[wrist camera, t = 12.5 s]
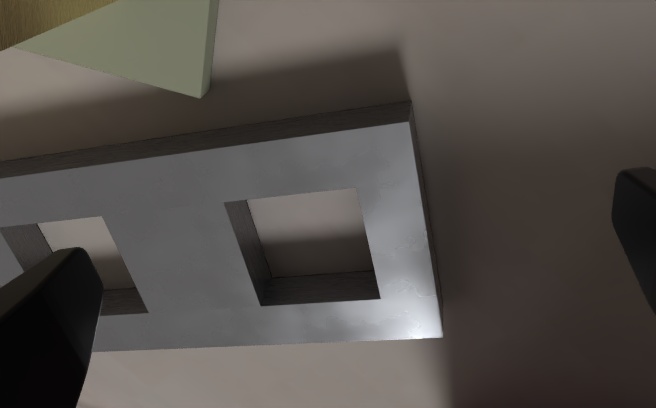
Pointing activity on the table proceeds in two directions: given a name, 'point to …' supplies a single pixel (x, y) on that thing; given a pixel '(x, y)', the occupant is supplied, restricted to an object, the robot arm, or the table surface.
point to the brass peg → (39, 17)
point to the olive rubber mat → (140, 42)
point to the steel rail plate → (238, 231)
